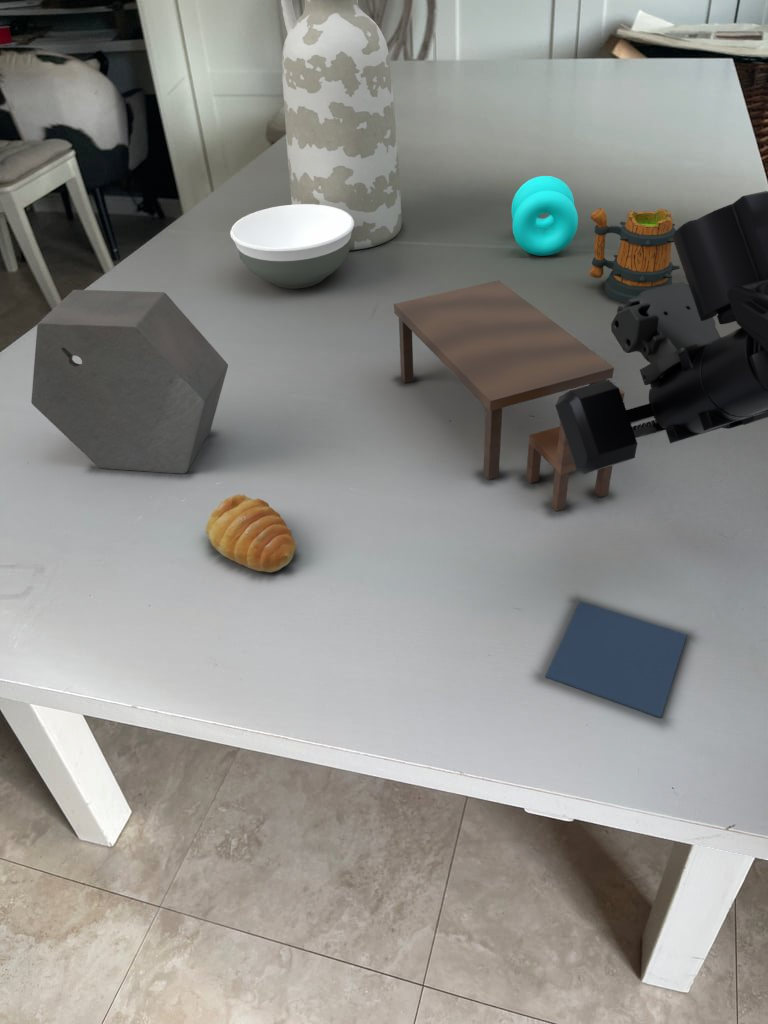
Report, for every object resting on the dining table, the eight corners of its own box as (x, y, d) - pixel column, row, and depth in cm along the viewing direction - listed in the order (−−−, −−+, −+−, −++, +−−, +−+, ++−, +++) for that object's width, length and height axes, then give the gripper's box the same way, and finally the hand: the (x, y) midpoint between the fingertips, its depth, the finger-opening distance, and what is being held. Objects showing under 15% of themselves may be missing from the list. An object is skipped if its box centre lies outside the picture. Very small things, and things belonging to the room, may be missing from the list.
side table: (602, 449, 87) (614, 367, 81) (486, 483, 84) (490, 400, 77) (496, 353, 105) (499, 279, 98) (396, 378, 101) (393, 303, 95)
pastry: (315, 552, 77) (311, 521, 74) (259, 589, 73) (253, 559, 71) (255, 510, 82) (249, 480, 79) (200, 543, 78) (192, 513, 76)
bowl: (282, 247, 136) (275, 197, 131) (379, 263, 129) (376, 211, 124) (214, 291, 124) (204, 238, 119) (317, 311, 116) (311, 256, 111)
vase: (424, 227, 140) (420, -37, 116) (348, 261, 130) (326, -20, 106) (343, 203, 151) (323, -42, 127) (267, 233, 141) (230, -27, 117)
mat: (686, 636, 66) (686, 634, 66) (660, 718, 60) (661, 716, 60) (579, 602, 70) (580, 601, 70) (545, 677, 64) (545, 675, 64)
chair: (608, 495, 81) (625, 392, 73) (556, 511, 79) (568, 408, 72) (575, 463, 85) (588, 363, 78) (525, 478, 84) (533, 377, 76)
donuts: (570, 234, 134) (576, 172, 128) (575, 258, 127) (582, 193, 120) (509, 235, 135) (512, 173, 129) (511, 259, 128) (514, 195, 121)
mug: (673, 277, 120) (688, 198, 112) (676, 307, 112) (692, 225, 105) (584, 273, 122) (592, 195, 115) (580, 302, 115) (589, 221, 107)
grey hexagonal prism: (261, 401, 89) (126, 247, 80) (240, 441, 83) (91, 279, 74) (160, 462, 97) (26, 328, 88) (134, 502, 91) (-12, 363, 82)
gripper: (805, 242, 58) (678, 320, 73) (583, 294, 53) (496, 366, 68) (856, 387, 58) (718, 435, 73) (637, 453, 53) (537, 491, 68)
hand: (619, 429), depth 70 cm, fingers open, 9 cm apart
